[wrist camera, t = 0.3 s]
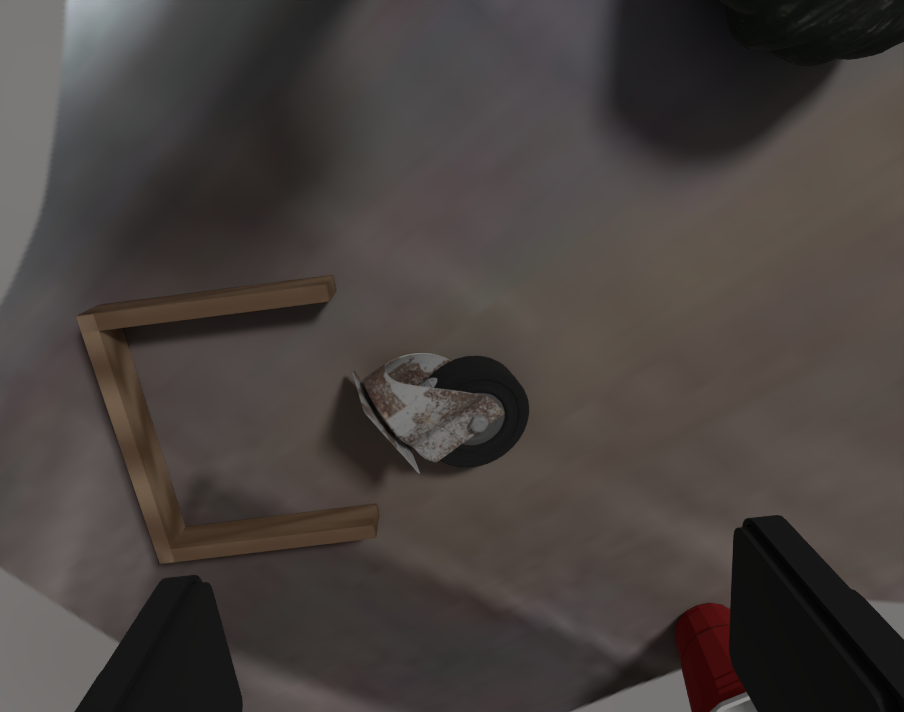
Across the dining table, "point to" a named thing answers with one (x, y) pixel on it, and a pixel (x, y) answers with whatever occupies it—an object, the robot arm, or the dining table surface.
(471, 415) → the caster wheel
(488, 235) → the dining table surface
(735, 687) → the plastic cup
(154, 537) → the walnut bay
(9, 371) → the dining table surface
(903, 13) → the squash
